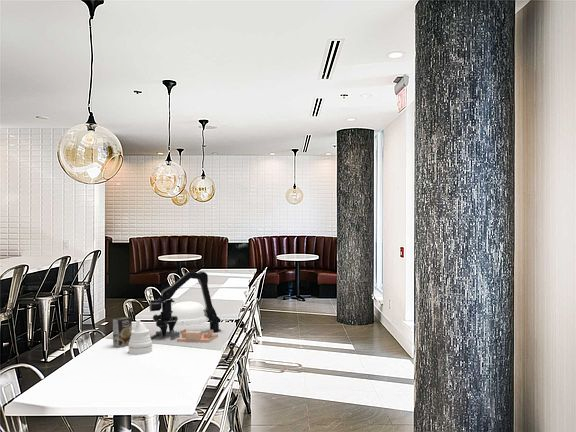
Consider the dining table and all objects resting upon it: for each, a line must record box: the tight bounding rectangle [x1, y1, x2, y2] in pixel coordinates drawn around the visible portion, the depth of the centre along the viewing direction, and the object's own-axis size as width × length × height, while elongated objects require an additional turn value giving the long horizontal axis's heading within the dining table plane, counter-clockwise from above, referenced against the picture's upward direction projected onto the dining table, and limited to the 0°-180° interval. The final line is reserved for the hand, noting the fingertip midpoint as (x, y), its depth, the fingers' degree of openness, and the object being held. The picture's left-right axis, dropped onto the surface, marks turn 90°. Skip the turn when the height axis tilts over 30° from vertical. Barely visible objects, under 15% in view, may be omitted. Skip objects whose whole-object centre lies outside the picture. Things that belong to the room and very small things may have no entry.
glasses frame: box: [150, 329, 180, 341], centre depth 346 cm, size 10×15×4 cm
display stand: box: [176, 328, 219, 343], centre depth 341 cm, size 16×20×6 cm
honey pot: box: [128, 319, 153, 356], centre depth 312 cm, size 13×13×18 cm
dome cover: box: [171, 300, 209, 327], centre depth 399 cm, size 32×30×14 cm
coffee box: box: [112, 316, 133, 349], centre depth 328 cm, size 9×6×16 cm
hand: (167, 334), depth 350 cm, fingers open, 9 cm apart
